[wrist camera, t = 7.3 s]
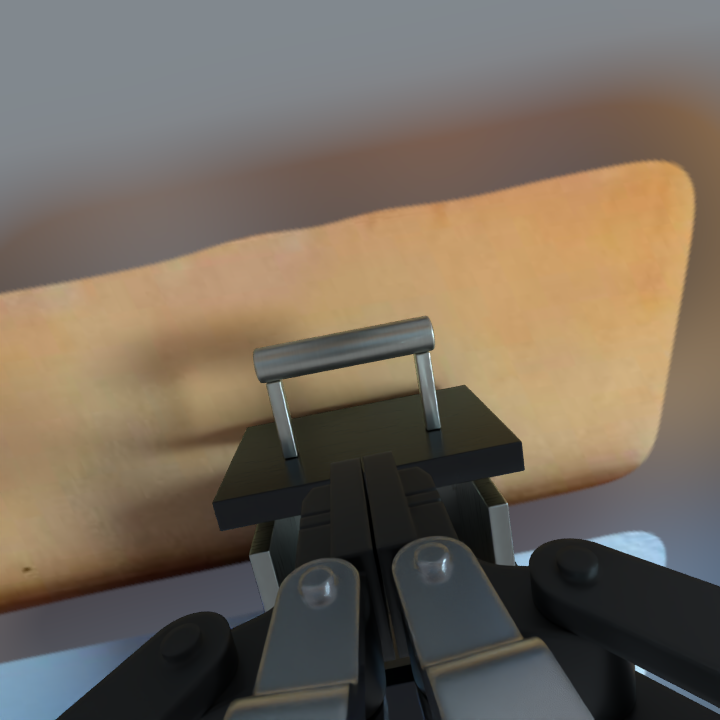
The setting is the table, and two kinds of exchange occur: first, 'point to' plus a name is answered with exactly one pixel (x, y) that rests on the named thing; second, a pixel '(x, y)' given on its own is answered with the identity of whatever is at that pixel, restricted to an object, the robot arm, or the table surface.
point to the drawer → (366, 450)
